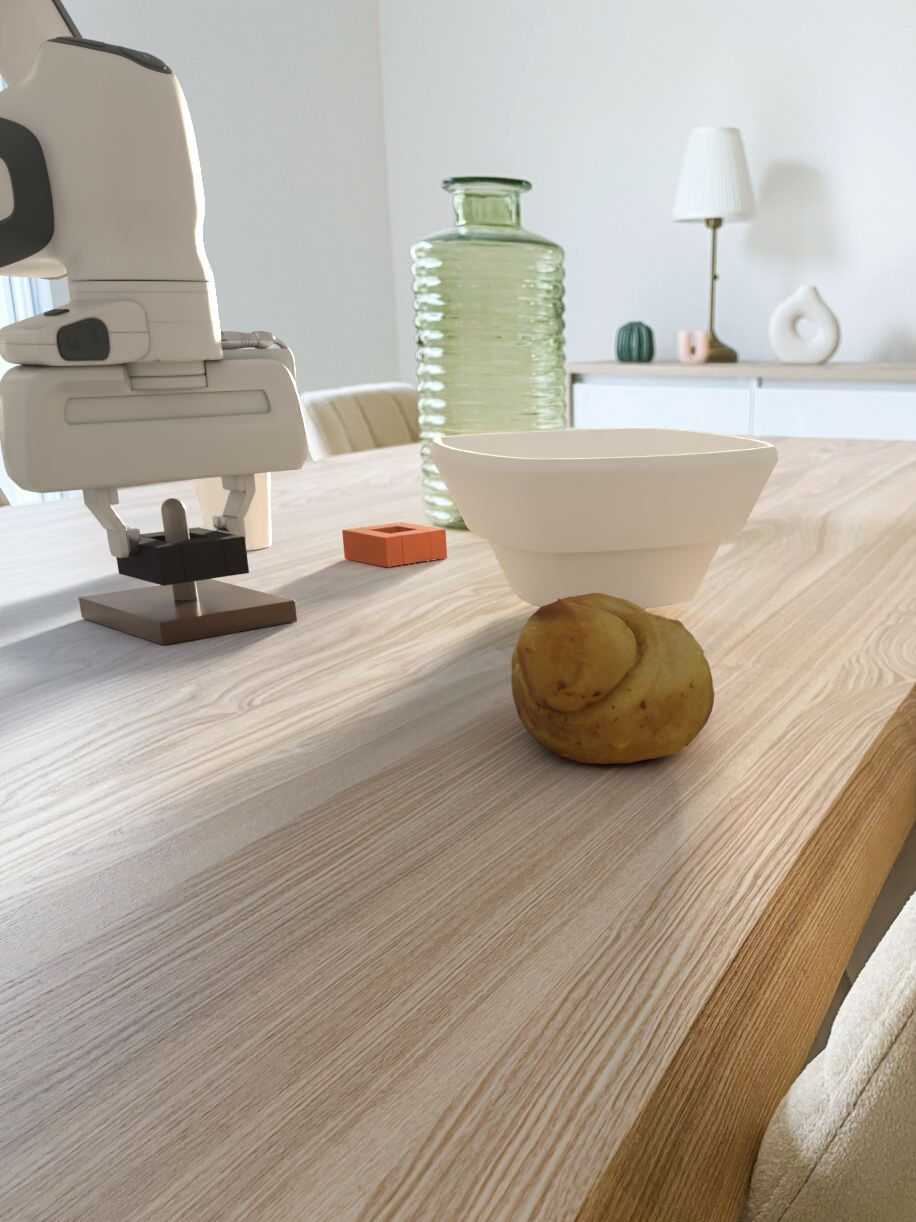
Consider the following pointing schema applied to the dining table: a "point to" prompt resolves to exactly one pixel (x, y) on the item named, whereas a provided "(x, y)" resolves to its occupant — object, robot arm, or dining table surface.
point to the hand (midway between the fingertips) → (180, 549)
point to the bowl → (604, 506)
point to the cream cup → (257, 515)
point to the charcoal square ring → (187, 557)
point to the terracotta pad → (394, 544)
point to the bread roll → (609, 681)
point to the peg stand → (186, 602)
